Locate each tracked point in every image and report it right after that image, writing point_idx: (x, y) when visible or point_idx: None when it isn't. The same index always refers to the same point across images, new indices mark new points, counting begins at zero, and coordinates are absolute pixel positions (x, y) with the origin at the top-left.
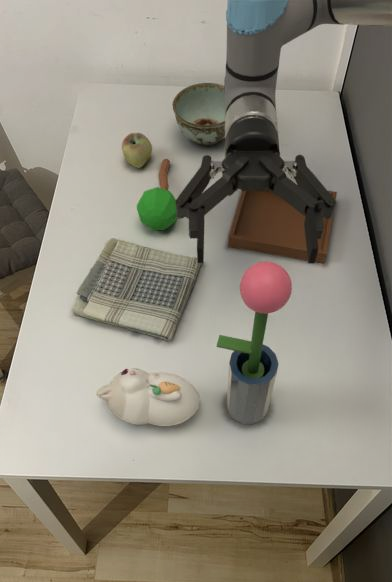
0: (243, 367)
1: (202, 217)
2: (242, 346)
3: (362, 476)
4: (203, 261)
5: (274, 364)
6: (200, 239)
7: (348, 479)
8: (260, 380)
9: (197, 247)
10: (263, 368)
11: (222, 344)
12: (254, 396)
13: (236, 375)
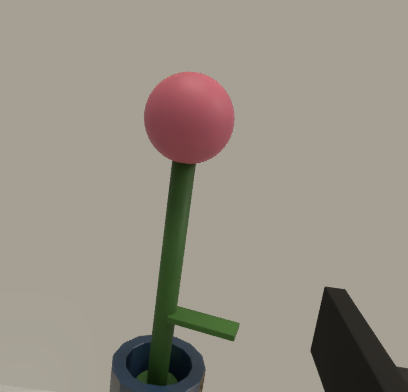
0: None
1: (383, 378)
2: (191, 313)
3: (9, 389)
4: (312, 343)
5: (121, 353)
6: (346, 306)
7: (30, 389)
8: None
9: (344, 290)
10: None
11: (228, 323)
12: None
13: (194, 349)
